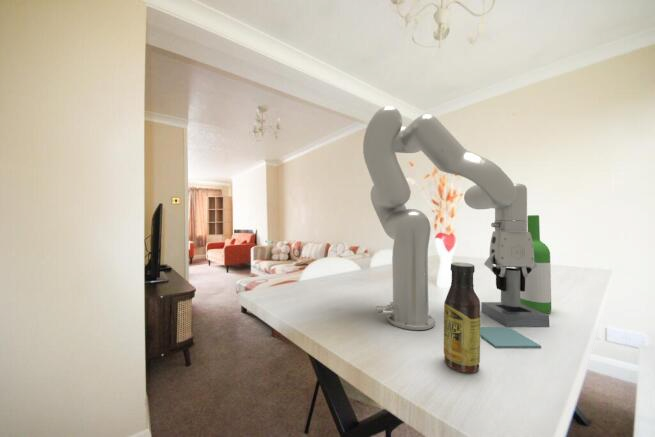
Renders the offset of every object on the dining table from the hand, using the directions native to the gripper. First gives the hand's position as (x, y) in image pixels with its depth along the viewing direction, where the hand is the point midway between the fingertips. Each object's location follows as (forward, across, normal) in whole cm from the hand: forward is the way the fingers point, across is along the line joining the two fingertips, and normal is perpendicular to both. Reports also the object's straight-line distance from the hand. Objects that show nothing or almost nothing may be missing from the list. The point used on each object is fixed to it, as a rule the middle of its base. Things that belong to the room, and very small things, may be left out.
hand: (510, 289), depth 72 cm
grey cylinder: (+5, 0, 0) cm, 5 cm away
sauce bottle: (+9, -26, -24) cm, 37 cm away
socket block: (+8, +1, 0) cm, 8 cm away
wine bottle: (+8, +13, +7) cm, 17 cm away
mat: (+9, -10, -12) cm, 18 cm away
